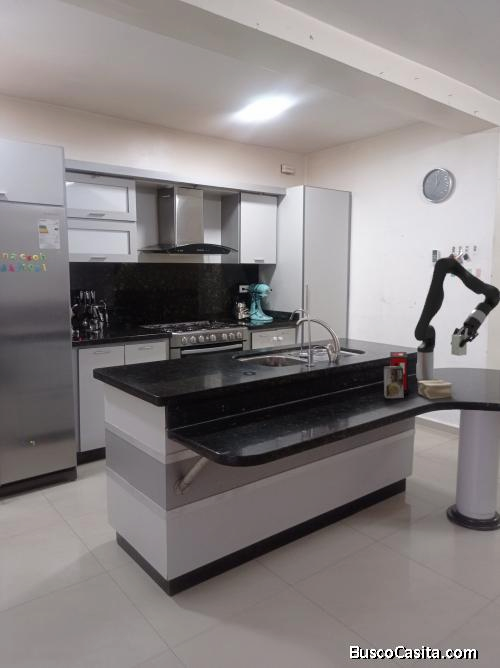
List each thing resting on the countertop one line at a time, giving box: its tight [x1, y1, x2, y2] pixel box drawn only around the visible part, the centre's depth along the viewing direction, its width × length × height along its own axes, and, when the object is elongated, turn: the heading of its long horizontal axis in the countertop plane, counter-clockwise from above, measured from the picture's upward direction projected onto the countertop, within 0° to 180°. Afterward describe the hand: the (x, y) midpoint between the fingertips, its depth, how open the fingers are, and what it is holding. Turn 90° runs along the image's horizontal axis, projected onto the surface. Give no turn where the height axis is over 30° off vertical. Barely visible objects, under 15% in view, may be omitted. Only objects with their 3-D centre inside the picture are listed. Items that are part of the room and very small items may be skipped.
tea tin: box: [450, 334, 468, 357], centre depth 246 cm, size 5×5×10 cm
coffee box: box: [383, 365, 405, 399], centre depth 256 cm, size 9×6×16 cm
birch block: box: [416, 378, 453, 400], centre depth 256 cm, size 13×13×7 cm
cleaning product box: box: [389, 351, 409, 394], centre depth 270 cm, size 16×9×20 cm, turn 164°
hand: (456, 345), depth 245 cm, fingers closed on tea tin, 5 cm apart
